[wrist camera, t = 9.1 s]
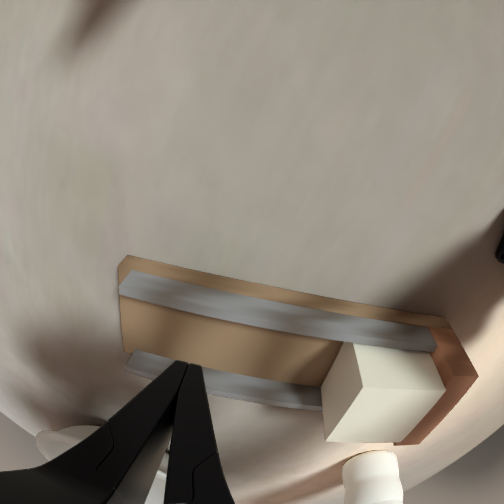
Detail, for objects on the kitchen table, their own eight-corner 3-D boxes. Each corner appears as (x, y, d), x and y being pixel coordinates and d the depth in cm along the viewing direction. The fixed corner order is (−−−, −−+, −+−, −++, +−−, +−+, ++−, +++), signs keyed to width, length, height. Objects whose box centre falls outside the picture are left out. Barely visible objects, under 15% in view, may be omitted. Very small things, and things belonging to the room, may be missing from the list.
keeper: (422, 339, 20) (446, 390, 15) (387, 393, 22) (400, 442, 18) (349, 329, 20) (363, 386, 15) (320, 387, 22) (325, 441, 18)
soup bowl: (260, 467, 33) (256, 511, 27) (161, 490, 41) (152, 520, 35) (89, 364, 27) (60, 413, 21) (40, 417, 35) (23, 448, 29)
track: (445, 317, 21) (478, 376, 15) (401, 386, 24) (418, 444, 18) (127, 254, 21) (80, 309, 15) (130, 339, 24) (99, 397, 18)
